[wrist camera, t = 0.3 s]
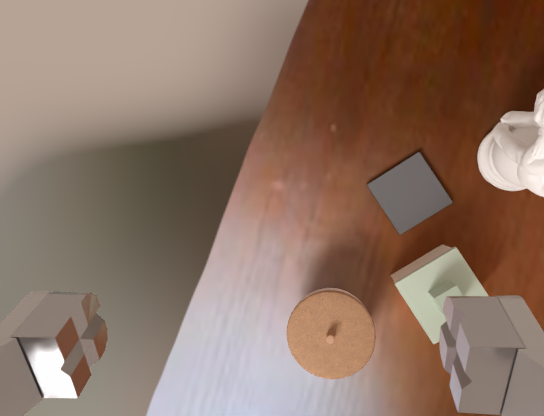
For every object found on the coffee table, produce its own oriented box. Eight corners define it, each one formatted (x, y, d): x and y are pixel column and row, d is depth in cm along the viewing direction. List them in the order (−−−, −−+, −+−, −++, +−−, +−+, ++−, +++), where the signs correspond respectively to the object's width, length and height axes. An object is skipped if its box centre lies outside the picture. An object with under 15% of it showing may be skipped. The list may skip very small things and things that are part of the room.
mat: (451, 202, 60) (453, 202, 59) (399, 234, 61) (400, 235, 60) (418, 152, 61) (419, 151, 60) (366, 184, 62) (367, 184, 61)
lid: (493, 306, 54) (508, 315, 49) (431, 341, 55) (440, 354, 50) (454, 246, 54) (464, 250, 50) (393, 282, 55) (398, 289, 51)
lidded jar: (299, 274, 63) (292, 286, 54) (376, 288, 62) (383, 303, 52) (287, 349, 64) (278, 374, 54) (364, 364, 62) (369, 393, 53)
